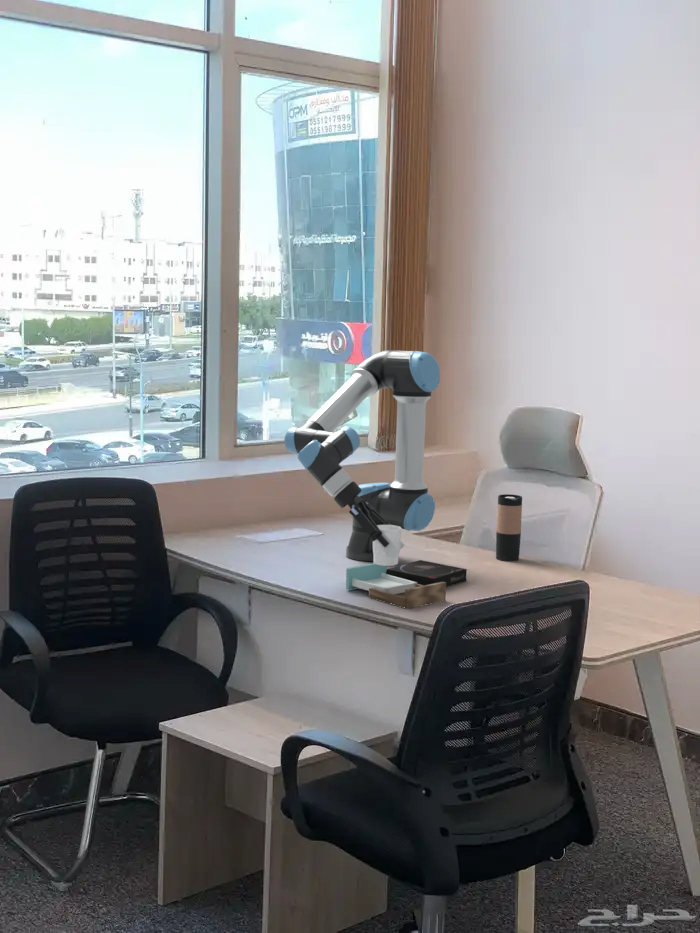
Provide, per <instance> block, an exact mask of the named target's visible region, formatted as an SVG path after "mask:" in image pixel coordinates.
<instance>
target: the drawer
mask: <svg viewBox="0 0 700 933" xmlns="http://www.w3.org/2000/svg"><path fill="white" fill-rule="evenodd" d="M446 595H447V587H446V582H439V583H434V584H429V585H420V584H417V587H414V588H409V589H405V592H403V593H398V594H391V593H388V592H384V591H381V590H377V589H374V588H369V591H368V598H369V597H371V598H370V599H372V598H374V599H373V600H376V599H378V600H377V601H379V600H381V601H380V602H382V601H385V602H384V603H386V602H388V603H387V604H389V603H392V604H395V605H394V606H396V605H398V606H397V607H399V606H401V607H400V608H403V607H405V608H404V609H406V608H407V609H406V610H409V609H408V608H410V609H413V608H412V607H414V608H418V607H417V606H419V607H422V606H421V605H423V606H426V605H425V604H428V605H431V604H430V603H432V604H436V603H435V602H437V603H440V601H441V602H445V601H446V597H447V596H446ZM392 604H391V605H392Z"/></svg>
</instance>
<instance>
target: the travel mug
mask: <svg viewBox="0 0 700 933" xmlns="http://www.w3.org/2000/svg"><path fill="white" fill-rule="evenodd" d="M522 508H523V496H521V495H517V494H507V493H506V494H499V495H498V496H497V512H496V514H497V515H496V529H495V531H496V534H495V536H496V537H495V542H496V543H495V559H496V560H498V561H502V562H517V561H519V560H520V548H521V538H522V537H521V534H522V516H523V515H522V514H523V510H522Z"/></svg>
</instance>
